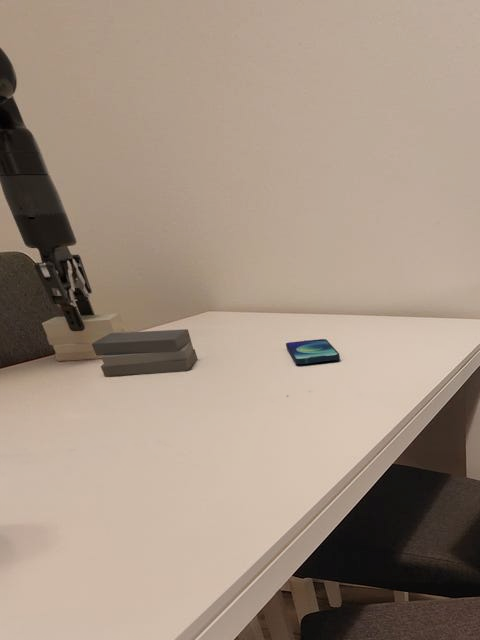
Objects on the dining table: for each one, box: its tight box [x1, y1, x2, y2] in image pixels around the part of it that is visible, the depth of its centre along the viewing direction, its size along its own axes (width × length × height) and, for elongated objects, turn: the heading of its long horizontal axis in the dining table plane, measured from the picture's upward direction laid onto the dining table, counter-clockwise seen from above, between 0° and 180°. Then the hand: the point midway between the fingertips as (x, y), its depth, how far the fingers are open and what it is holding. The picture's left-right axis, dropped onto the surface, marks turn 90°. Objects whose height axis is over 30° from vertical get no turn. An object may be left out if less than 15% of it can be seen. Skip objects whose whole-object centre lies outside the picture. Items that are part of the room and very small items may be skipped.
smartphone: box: [285, 338, 341, 365], centre depth 103 cm, size 8×1×15 cm
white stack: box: [46, 327, 126, 362], centre depth 106 cm, size 12×7×4 cm, turn 101°
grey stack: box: [92, 328, 198, 378], centre depth 98 cm, size 14×9×5 cm
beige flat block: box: [41, 313, 125, 338], centre depth 105 cm, size 11×6×2 cm, turn 101°
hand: (84, 326), depth 105 cm, fingers closed on beige flat block, 6 cm apart
